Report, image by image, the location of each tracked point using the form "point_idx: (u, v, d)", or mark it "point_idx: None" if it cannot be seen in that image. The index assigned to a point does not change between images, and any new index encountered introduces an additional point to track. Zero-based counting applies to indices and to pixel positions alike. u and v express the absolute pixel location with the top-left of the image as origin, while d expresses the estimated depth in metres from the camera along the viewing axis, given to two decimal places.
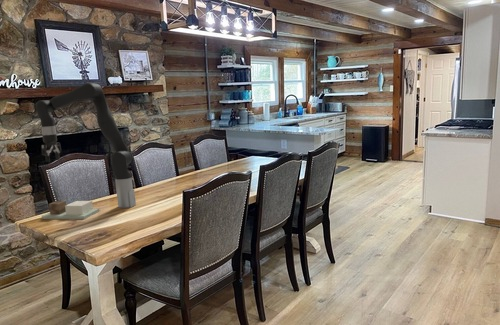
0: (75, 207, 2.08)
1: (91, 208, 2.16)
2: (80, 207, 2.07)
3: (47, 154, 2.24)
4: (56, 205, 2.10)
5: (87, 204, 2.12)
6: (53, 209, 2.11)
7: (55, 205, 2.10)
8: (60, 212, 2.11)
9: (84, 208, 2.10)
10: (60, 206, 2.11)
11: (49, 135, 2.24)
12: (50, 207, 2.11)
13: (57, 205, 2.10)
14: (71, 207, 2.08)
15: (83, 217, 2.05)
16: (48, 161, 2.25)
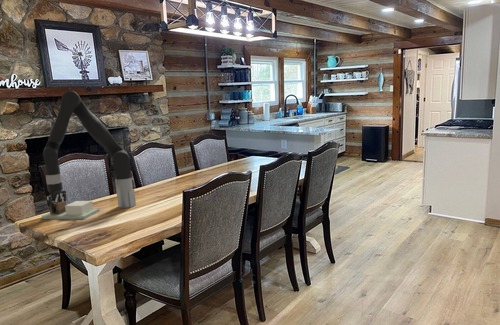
0: (75, 207, 2.08)
1: (91, 208, 2.16)
2: (80, 207, 2.07)
3: (53, 205, 2.09)
4: (56, 205, 2.10)
5: (87, 204, 2.12)
6: None
7: None
8: (60, 212, 2.11)
9: (84, 208, 2.10)
10: (60, 206, 2.11)
11: (54, 184, 2.08)
12: (50, 207, 2.11)
13: (57, 205, 2.10)
14: (71, 207, 2.08)
15: (83, 217, 2.05)
16: (54, 212, 2.10)
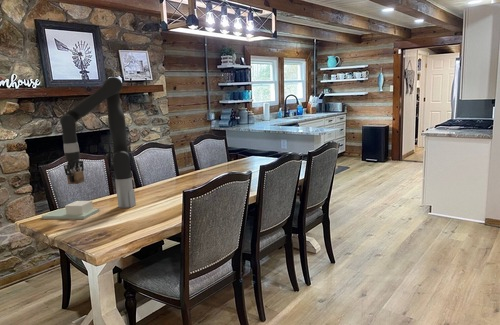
0: (75, 207, 2.08)
1: (91, 208, 2.16)
2: (80, 207, 2.07)
3: (71, 174, 2.06)
4: (74, 174, 2.07)
5: (87, 204, 2.12)
6: None
7: None
8: (78, 181, 2.08)
9: (84, 208, 2.10)
10: (78, 175, 2.08)
11: (72, 152, 2.05)
12: (68, 176, 2.08)
13: (75, 174, 2.07)
14: (71, 207, 2.08)
15: (83, 217, 2.05)
16: (72, 182, 2.07)
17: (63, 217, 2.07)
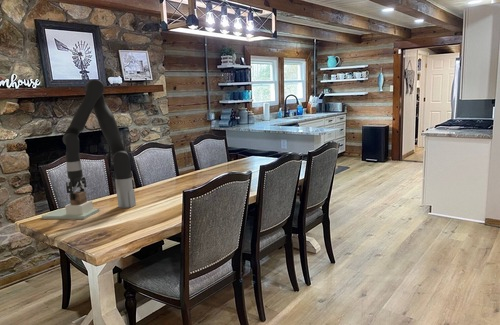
0: (75, 207, 2.08)
1: (91, 208, 2.16)
2: (80, 207, 2.07)
3: (72, 192, 2.06)
4: (77, 195, 2.09)
5: (87, 204, 2.12)
6: None
7: (76, 195, 2.09)
8: (81, 202, 2.10)
9: (84, 208, 2.10)
10: (81, 196, 2.10)
11: (75, 171, 2.07)
12: None
13: (78, 195, 2.09)
14: (71, 207, 2.08)
15: (83, 217, 2.05)
16: (73, 199, 2.08)
17: (63, 217, 2.07)
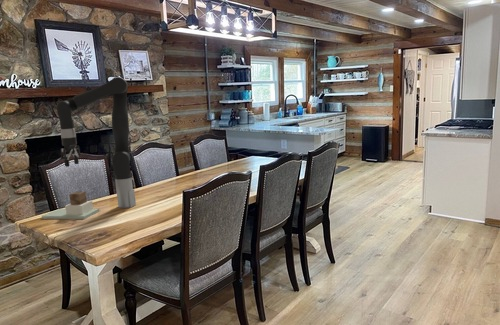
0: (75, 207, 2.08)
1: (91, 208, 2.16)
2: (80, 207, 2.07)
3: (67, 158, 2.10)
4: (77, 195, 2.09)
5: (87, 204, 2.12)
6: (74, 199, 2.10)
7: (76, 195, 2.09)
8: (81, 202, 2.10)
9: (84, 208, 2.10)
10: (81, 196, 2.10)
11: (69, 138, 2.11)
12: (71, 197, 2.10)
13: (78, 195, 2.09)
14: (71, 207, 2.08)
15: (83, 217, 2.05)
16: (67, 166, 2.12)
17: (63, 217, 2.07)
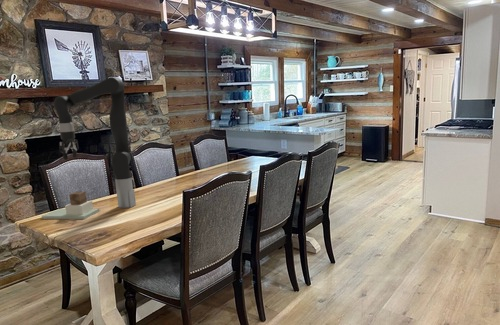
0: (75, 207, 2.08)
1: (91, 208, 2.16)
2: (80, 207, 2.07)
3: (65, 151, 2.18)
4: (77, 195, 2.09)
5: (87, 204, 2.12)
6: (74, 199, 2.10)
7: (76, 195, 2.09)
8: (81, 202, 2.10)
9: (84, 208, 2.10)
10: (81, 196, 2.10)
11: (67, 132, 2.18)
12: (71, 197, 2.10)
13: (78, 195, 2.09)
14: (71, 207, 2.08)
15: (83, 217, 2.05)
16: (66, 159, 2.19)
17: (63, 217, 2.07)
